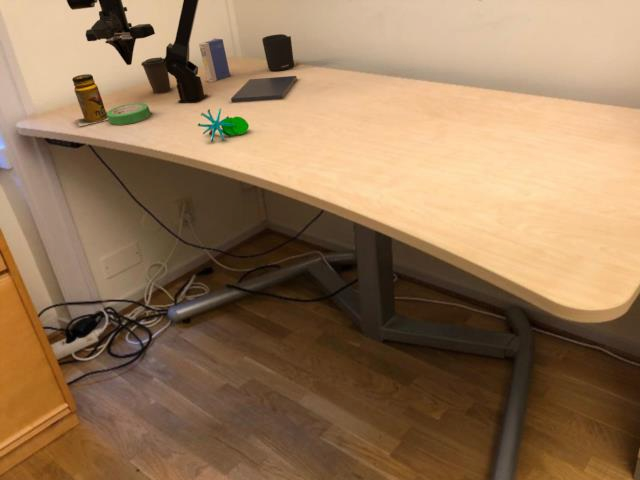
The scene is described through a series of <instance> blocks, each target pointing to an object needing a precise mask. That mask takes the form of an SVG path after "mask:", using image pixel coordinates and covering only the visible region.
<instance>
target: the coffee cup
mask: <svg viewBox="0 0 640 480" xmlns="http://www.w3.org/2000/svg"><path fill="white" fill-rule="evenodd" d="M164 59H165V57H162V56H159V57H152V58H147V59H146V60H144V61H142V62H141V65H140V66H142V68H143V70H144V73H145V76H146V78H147V80H148V82H149V85H150V87H151V91H152V92H153V94H156V95H157V94H158V95H159V94H166V93H169V92H170V91H171V90H172V89H171V82H170V76H169V75H170V74H169V72H168V71H167V69H166V67H165V63H166V61H163V60H164Z"/></svg>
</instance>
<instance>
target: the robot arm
mask: <svg viewBox="0 0 640 480" xmlns="http://www.w3.org/2000/svg"><path fill="white" fill-rule="evenodd" d="M199 1H200V0H183V1H182V7H181V11H180V16H179V21H178V25H177V30H176V34H175V39H174V41H173V43H171V42H169V43H168V45H167V46H166V48H165V57H164V58H165V59H164V60H163V61H166V63H165V67H166V69H167V71H168V74H169V75H171V76H173V77H174V78H175V80H176V86H175V87H176V89H177V93H178V97H179V100H178V103H199V102H201V101H202V100H204V99H206V98H207V97H208V94H207V93H205V91H204V87H203V82H202V79H201V76H198V74H199V66H197V65H196V64H195V63H193V62H192V61H191V60H190V42H191V37H192V32H193V29H194V24H195V18H196V14H197V10H198V6H199ZM66 2H67V5H68V7H69V8H70V10H72V11H74V10H75V11H76V10H84V9H90V8H95V5H96V3H99V7H100V9H101V10H100V11H98V16H99V19H98V20H96V22H95V23H94V24H93V25H92V26H91V27H90V28H88V29H86V31H85V38H86V41H87V42H96V41H100V40H105V41H104V43H105V44H108V45H110V46H112V47H113V48H114V49H115V50H116V52H117V53H118V55H119V56H120V57H121V59H122V60H123V62H124V63H125V64H126V65H127V66H131V65H132V63H133V55H134V50H135V45H136V40H138V39H145V38H148V37H151V36H153V35H156V32H155V29H154V26H153V25H151V23H142V24H141V23H140V24H136V25H132V22H129V21H128V18H127V15H126V12H128V8H127V6H124V5H123V0H66Z"/></svg>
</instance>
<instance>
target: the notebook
mask: <svg viewBox="0 0 640 480" xmlns="http://www.w3.org/2000/svg"><path fill="white" fill-rule="evenodd" d="M297 80H298V77H297V75H288V76H275V77H263V78H260V77H259V78H250V79H249V80H248V81H246V82H245V84H243V86H242V87H241V88H240V89H239V90H238V91H236V92H235V94H233V95H232V97H231V98H230V101H231V103H246V102H260V101H261V102H262V101H274V100H284V98H285V97H286V95H288V93H289V91H290V90H291V88H292V87H293V86H294V84H296V82H297Z"/></svg>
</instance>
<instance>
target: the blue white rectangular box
mask: <svg viewBox="0 0 640 480" xmlns="http://www.w3.org/2000/svg"><path fill="white" fill-rule="evenodd" d="M198 47H199V49H200V55H201V60H202V63H203V68H204V72H205V76H206V80H207V82H210V83H213V82H216V81H218V80H222V79H224V78H225V79H226V78H228V77H230V76H231V73H230V68H229V67H230V66H229V63H228V59H227V53H226V50H225V49H226V48H225V44H224V39H222V38H216V37H215V38H212V40H208V41H204V42H201V43H199V44H198Z"/></svg>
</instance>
